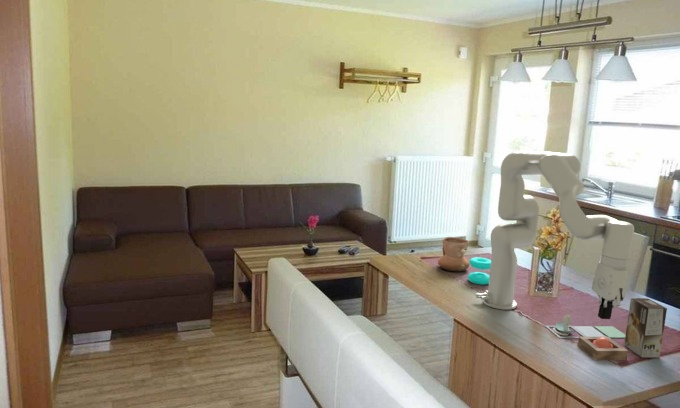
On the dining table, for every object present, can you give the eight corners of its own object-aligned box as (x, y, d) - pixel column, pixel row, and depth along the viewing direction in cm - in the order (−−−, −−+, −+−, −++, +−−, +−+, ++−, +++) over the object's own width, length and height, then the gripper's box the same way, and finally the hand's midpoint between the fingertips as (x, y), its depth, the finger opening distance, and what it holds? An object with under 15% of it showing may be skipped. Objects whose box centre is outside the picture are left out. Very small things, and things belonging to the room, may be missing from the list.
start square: (559, 338, 170) (559, 337, 170) (545, 326, 180) (545, 325, 180) (587, 338, 171) (587, 337, 171) (571, 326, 181) (571, 325, 181)
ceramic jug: (476, 273, 238) (479, 243, 236) (448, 274, 233) (450, 244, 231) (456, 263, 255) (459, 235, 253) (430, 264, 250) (432, 235, 248)
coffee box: (660, 358, 159) (668, 308, 157) (641, 357, 159) (649, 308, 156) (641, 344, 168) (648, 297, 166) (622, 344, 168) (629, 297, 165)
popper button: (598, 355, 158) (600, 341, 157) (588, 347, 164) (590, 334, 163) (615, 355, 159) (617, 341, 158) (604, 347, 164) (606, 334, 163)
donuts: (465, 256, 228) (485, 256, 231) (463, 278, 230) (483, 277, 232) (476, 263, 219) (497, 262, 221) (474, 285, 220) (495, 285, 223)
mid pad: (587, 338, 172) (587, 337, 172) (572, 327, 180) (572, 326, 180) (606, 338, 172) (606, 337, 172) (591, 327, 181) (591, 326, 181)
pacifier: (559, 337, 172) (576, 337, 172) (561, 320, 170) (578, 319, 171) (548, 328, 179) (564, 328, 179) (549, 311, 178) (566, 311, 178)
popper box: (595, 360, 156) (597, 350, 155) (577, 345, 166) (578, 336, 165) (626, 360, 157) (628, 350, 156) (606, 345, 167) (608, 336, 166)
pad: (609, 338, 172) (609, 337, 172) (594, 327, 181) (594, 326, 181) (629, 338, 173) (629, 337, 173) (612, 327, 182) (612, 326, 182)
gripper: (588, 253, 163) (579, 308, 167) (617, 269, 149) (607, 328, 152) (610, 254, 164) (601, 308, 168) (642, 270, 149) (630, 328, 153)
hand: (604, 317), depth 160 cm, fingers closed
